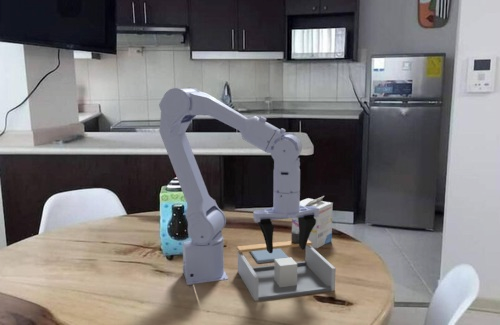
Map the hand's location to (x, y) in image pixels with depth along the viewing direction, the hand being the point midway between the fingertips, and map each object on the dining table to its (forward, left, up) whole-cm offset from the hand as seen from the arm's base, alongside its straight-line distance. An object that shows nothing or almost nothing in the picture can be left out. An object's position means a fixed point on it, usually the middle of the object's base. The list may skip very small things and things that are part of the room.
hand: (286, 249), depth 99 cm
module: (0, 0, -8) cm, 8 cm away
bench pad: (+1, +16, -8) cm, 18 cm away
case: (0, +1, -8) cm, 8 cm away
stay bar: (0, +8, -2) cm, 8 cm away
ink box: (+16, +23, -9) cm, 29 cm away
